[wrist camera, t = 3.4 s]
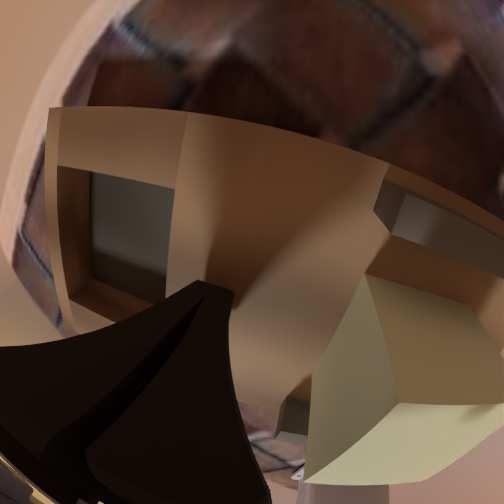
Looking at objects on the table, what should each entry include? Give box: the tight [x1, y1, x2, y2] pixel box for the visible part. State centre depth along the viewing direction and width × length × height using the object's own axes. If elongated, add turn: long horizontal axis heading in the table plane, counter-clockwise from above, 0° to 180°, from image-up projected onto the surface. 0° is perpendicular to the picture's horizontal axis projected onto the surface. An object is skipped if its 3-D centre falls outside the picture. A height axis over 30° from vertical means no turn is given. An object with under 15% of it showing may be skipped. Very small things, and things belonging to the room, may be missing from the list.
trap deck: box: [45, 106, 504, 446], centre depth 9 cm, size 12×29×4 cm, turn 77°
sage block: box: [303, 273, 504, 485], centre depth 7 cm, size 5×5×5 cm
